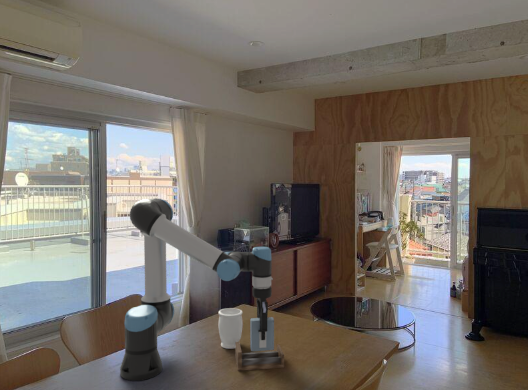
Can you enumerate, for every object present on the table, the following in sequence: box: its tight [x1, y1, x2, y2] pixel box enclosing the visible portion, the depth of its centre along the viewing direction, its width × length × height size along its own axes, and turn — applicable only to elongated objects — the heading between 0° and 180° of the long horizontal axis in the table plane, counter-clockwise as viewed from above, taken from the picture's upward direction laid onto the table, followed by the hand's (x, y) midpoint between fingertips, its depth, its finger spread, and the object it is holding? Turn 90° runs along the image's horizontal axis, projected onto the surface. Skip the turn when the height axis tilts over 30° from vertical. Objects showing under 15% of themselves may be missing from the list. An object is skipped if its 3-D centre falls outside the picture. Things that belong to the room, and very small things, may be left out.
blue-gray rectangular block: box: [249, 316, 275, 352], centre depth 156 cm, size 9×3×12 cm, turn 99°
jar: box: [218, 307, 243, 350], centre depth 173 cm, size 11×10×15 cm
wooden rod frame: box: [234, 341, 285, 372], centre depth 156 cm, size 18×10×7 cm, turn 99°
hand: (262, 345), depth 156 cm, fingers closed on blue-gray rectangular block, 3 cm apart
